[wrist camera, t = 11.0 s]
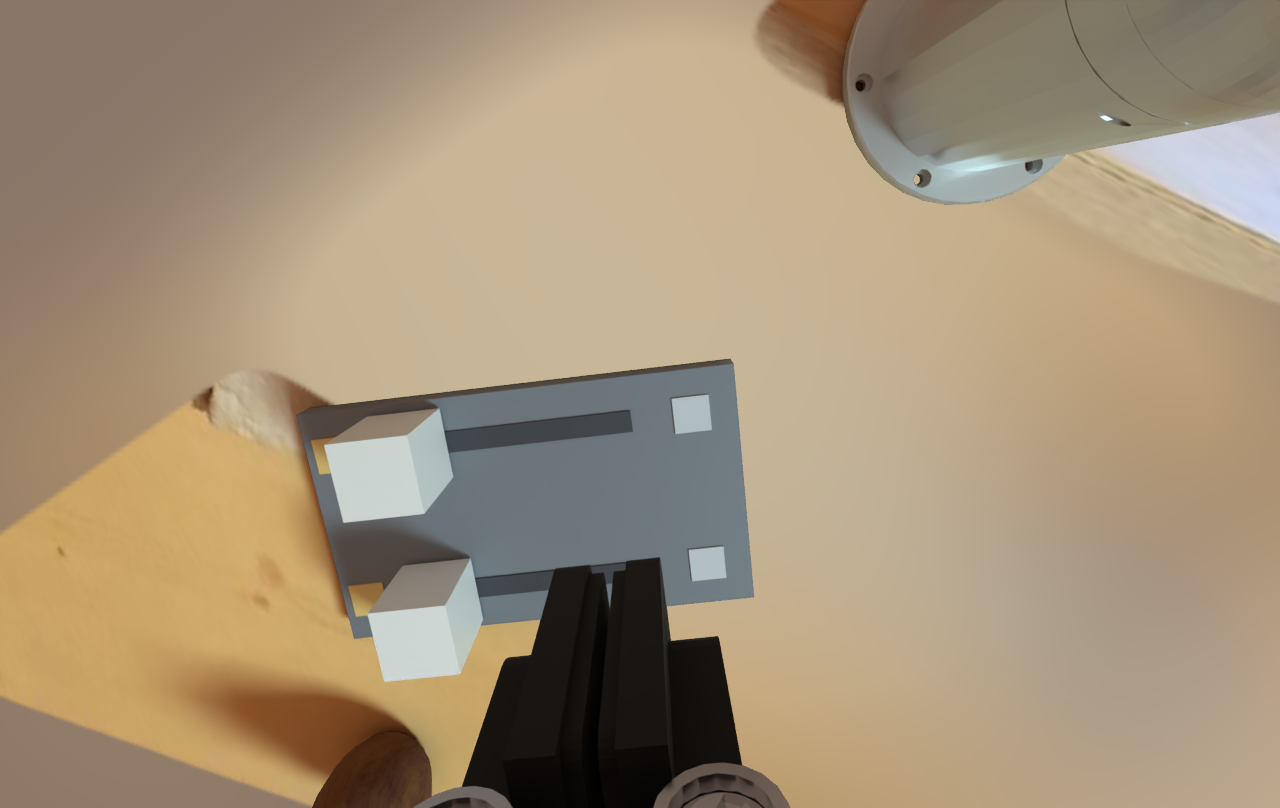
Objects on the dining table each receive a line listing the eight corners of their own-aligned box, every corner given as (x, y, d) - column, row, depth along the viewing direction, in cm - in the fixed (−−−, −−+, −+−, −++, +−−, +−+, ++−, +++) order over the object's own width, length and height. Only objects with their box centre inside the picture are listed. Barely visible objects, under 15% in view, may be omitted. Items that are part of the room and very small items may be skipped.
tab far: (470, 558, 38) (445, 605, 33) (483, 619, 39) (460, 674, 34) (402, 565, 38) (367, 613, 33) (416, 626, 39) (384, 681, 34)
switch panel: (730, 358, 37) (733, 364, 35) (750, 584, 40) (754, 598, 39) (309, 408, 38) (295, 415, 36) (364, 624, 41) (353, 639, 40)
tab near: (439, 408, 36) (407, 435, 31) (453, 477, 37) (424, 514, 32) (367, 416, 36) (324, 444, 31) (383, 485, 37) (343, 522, 32)
